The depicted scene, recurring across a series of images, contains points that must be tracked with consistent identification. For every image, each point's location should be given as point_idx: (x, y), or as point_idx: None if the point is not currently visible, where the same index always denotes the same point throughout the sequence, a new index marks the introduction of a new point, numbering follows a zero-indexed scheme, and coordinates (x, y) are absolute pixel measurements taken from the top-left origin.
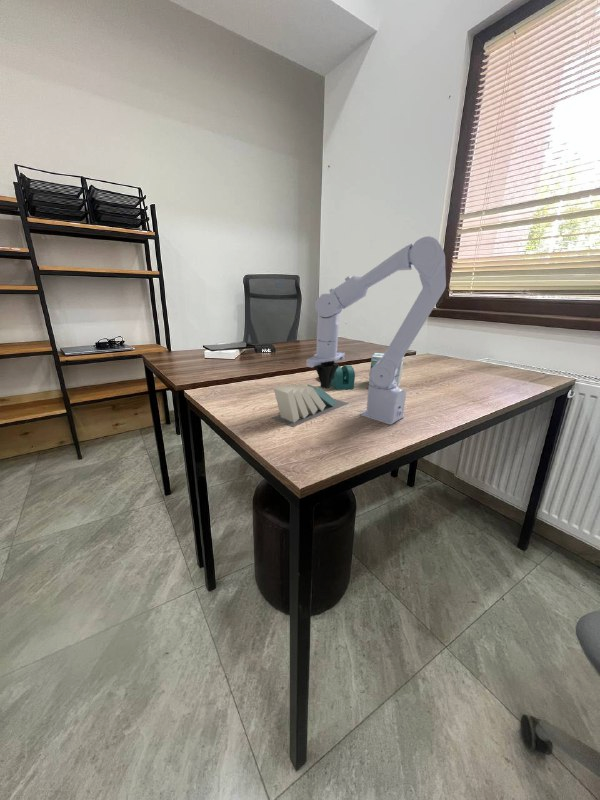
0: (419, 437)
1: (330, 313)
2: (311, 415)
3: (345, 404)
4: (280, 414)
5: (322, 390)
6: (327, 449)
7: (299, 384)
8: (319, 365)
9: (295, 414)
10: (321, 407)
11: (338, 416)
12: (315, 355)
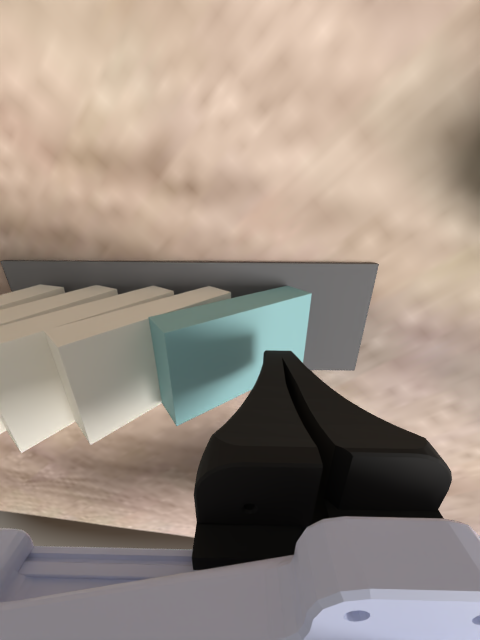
0: None
1: None
2: None
3: (335, 368)
4: (25, 289)
5: (193, 414)
6: (63, 472)
7: (58, 354)
8: (200, 530)
9: None
10: None
11: (227, 401)
12: (302, 606)
